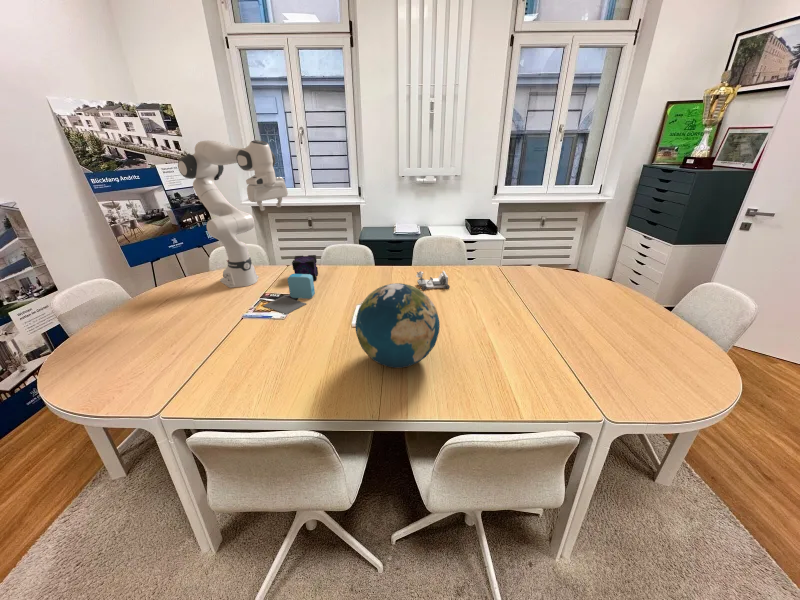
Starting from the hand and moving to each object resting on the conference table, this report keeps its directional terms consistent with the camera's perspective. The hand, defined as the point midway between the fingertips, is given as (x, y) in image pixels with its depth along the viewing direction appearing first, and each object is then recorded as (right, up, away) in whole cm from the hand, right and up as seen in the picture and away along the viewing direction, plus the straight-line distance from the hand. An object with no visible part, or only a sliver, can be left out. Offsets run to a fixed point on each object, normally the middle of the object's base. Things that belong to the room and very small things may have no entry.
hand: (271, 208), depth 168 cm
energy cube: (+7, -31, +39) cm, 50 cm away
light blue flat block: (+11, -43, +15) cm, 46 cm away
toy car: (+80, -37, +26) cm, 92 cm away
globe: (+62, -67, -37) cm, 98 cm away
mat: (+5, -47, +6) cm, 47 cm away
